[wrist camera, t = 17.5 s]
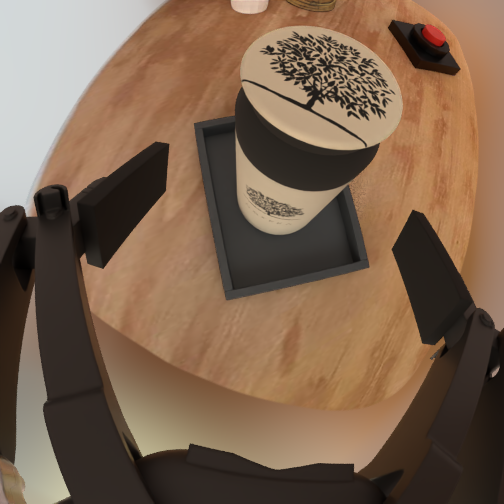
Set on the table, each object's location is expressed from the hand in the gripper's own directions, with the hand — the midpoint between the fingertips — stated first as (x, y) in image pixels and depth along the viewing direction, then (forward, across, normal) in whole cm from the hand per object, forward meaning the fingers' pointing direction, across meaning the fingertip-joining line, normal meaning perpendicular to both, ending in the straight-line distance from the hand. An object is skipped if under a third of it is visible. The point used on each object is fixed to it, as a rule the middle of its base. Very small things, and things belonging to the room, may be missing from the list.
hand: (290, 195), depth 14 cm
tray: (+13, 0, -7) cm, 15 cm away
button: (+35, +19, +20) cm, 45 cm away
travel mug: (+13, 0, -7) cm, 15 cm away
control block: (+38, +19, +18) cm, 46 cm away
